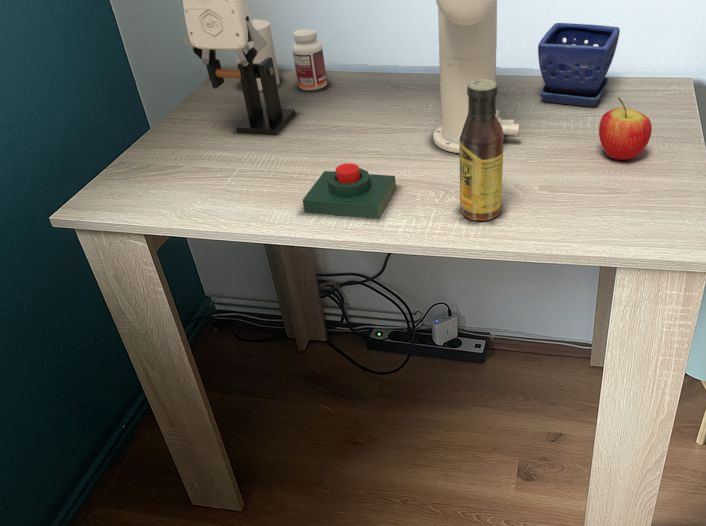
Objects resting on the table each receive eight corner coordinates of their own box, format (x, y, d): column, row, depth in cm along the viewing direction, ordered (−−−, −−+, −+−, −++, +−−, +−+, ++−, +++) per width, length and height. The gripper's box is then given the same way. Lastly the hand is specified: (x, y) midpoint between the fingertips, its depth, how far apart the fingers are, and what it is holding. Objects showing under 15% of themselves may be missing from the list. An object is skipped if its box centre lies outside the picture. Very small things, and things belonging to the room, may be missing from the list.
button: (363, 174, 114) (362, 164, 112) (356, 185, 111) (354, 174, 110) (341, 172, 114) (340, 162, 113) (333, 183, 112) (332, 172, 110)
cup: (284, 77, 160) (274, 19, 152) (274, 90, 153) (263, 31, 146) (248, 77, 160) (236, 19, 153) (236, 90, 154) (224, 31, 147)
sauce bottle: (458, 204, 112) (455, 75, 100) (498, 201, 113) (500, 72, 100) (462, 226, 107) (460, 92, 95) (504, 223, 108) (508, 89, 95)
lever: (242, 81, 124) (241, 66, 123) (216, 80, 125) (214, 65, 124) (273, 77, 135) (272, 63, 134) (248, 76, 136) (247, 62, 135)
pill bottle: (322, 79, 158) (314, 25, 151) (331, 87, 153) (324, 33, 146) (294, 84, 156) (285, 30, 149) (303, 93, 151) (294, 38, 144)
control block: (396, 188, 117) (394, 165, 115) (378, 218, 110) (376, 195, 107) (326, 182, 120) (322, 160, 117) (304, 212, 112) (300, 189, 110)
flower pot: (601, 112, 138) (608, 47, 130) (533, 105, 142) (536, 42, 134) (614, 87, 147) (621, 25, 139) (550, 81, 151) (553, 21, 143)
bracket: (276, 135, 136) (264, 71, 128) (236, 132, 137) (222, 69, 130) (295, 114, 143) (285, 52, 135) (258, 112, 145) (246, 51, 137)
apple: (600, 143, 127) (606, 86, 121) (650, 148, 125) (659, 91, 118) (592, 163, 121) (598, 105, 115) (643, 169, 119) (653, 110, 113)
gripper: (148, -24, 114) (179, 92, 125) (248, -23, 110) (271, 96, 122) (171, -35, 119) (199, 76, 131) (268, -34, 116) (287, 80, 127)
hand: (233, 85), depth 126 cm, fingers closed on lever, 5 cm apart
